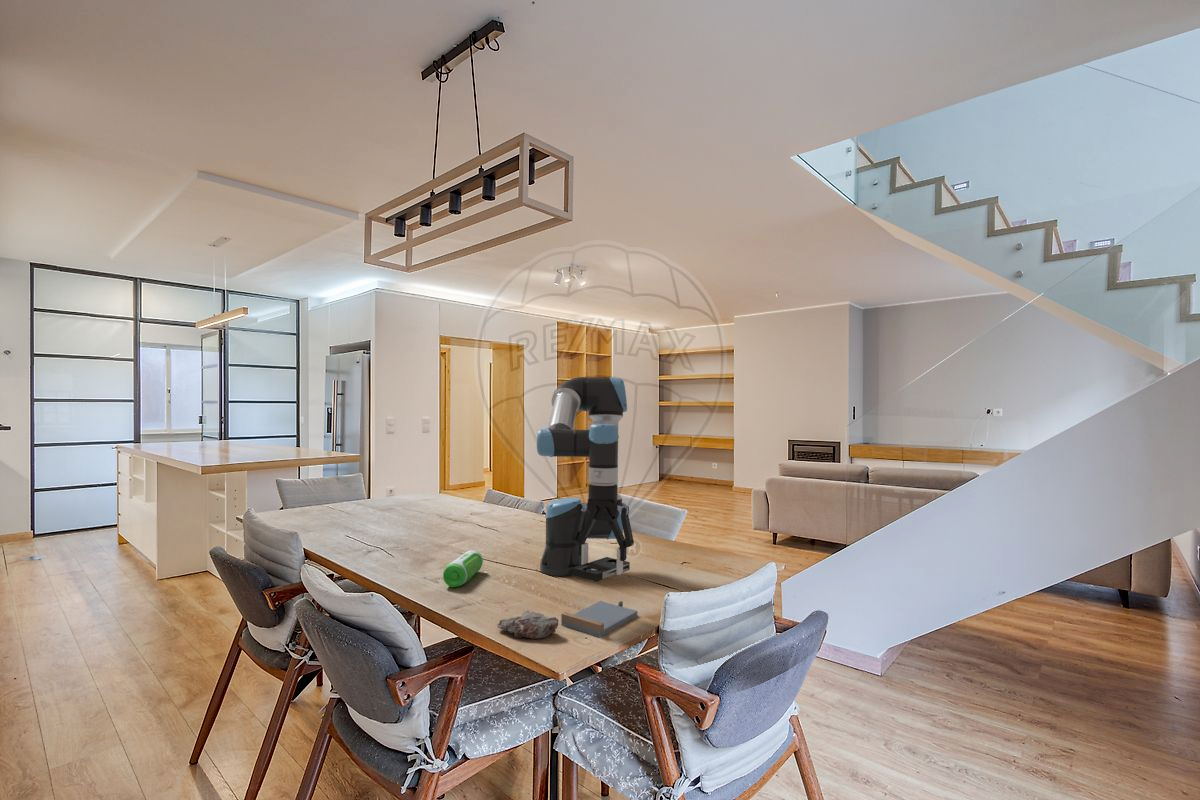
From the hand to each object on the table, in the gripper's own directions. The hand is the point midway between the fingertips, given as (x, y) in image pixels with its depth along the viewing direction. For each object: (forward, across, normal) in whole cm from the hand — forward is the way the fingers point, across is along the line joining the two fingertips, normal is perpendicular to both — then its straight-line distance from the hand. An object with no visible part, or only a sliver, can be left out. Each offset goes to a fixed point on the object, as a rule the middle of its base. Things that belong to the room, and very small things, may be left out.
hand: (601, 570), depth 146 cm
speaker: (+13, -52, +12) cm, 55 cm away
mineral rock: (+13, -13, -15) cm, 24 cm away
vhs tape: (+1, 0, 0) cm, 1 cm away
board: (+13, 0, 0) cm, 13 cm away
